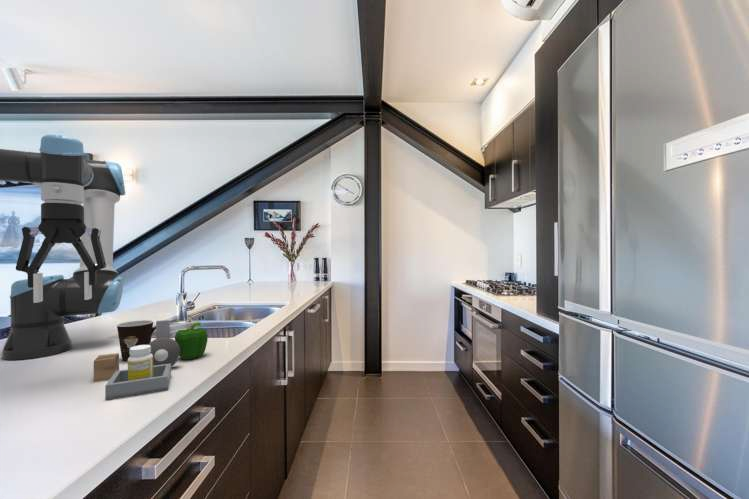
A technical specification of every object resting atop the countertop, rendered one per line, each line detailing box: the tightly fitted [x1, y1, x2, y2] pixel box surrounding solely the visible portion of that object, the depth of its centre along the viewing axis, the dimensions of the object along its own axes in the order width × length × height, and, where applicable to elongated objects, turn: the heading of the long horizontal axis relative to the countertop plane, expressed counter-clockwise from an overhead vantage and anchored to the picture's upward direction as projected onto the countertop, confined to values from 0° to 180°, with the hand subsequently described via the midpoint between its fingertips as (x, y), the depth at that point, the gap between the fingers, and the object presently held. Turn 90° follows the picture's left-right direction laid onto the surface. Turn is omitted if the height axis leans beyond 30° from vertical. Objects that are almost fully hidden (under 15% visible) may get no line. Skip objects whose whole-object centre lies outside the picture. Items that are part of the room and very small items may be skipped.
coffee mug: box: [116, 319, 156, 363], centre depth 99 cm, size 12×9×10 cm
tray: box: [104, 363, 172, 401], centre depth 78 cm, size 10×11×3 cm
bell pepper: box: [174, 321, 209, 360], centre depth 100 cm, size 8×8×10 cm
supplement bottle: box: [127, 345, 153, 381], centre depth 78 cm, size 5×5×8 cm
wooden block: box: [93, 352, 120, 383], centre depth 84 cm, size 5×4×5 cm
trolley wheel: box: [148, 319, 180, 368], centre depth 91 cm, size 6×8×12 cm
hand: (63, 300), depth 81 cm, fingers open, 8 cm apart
